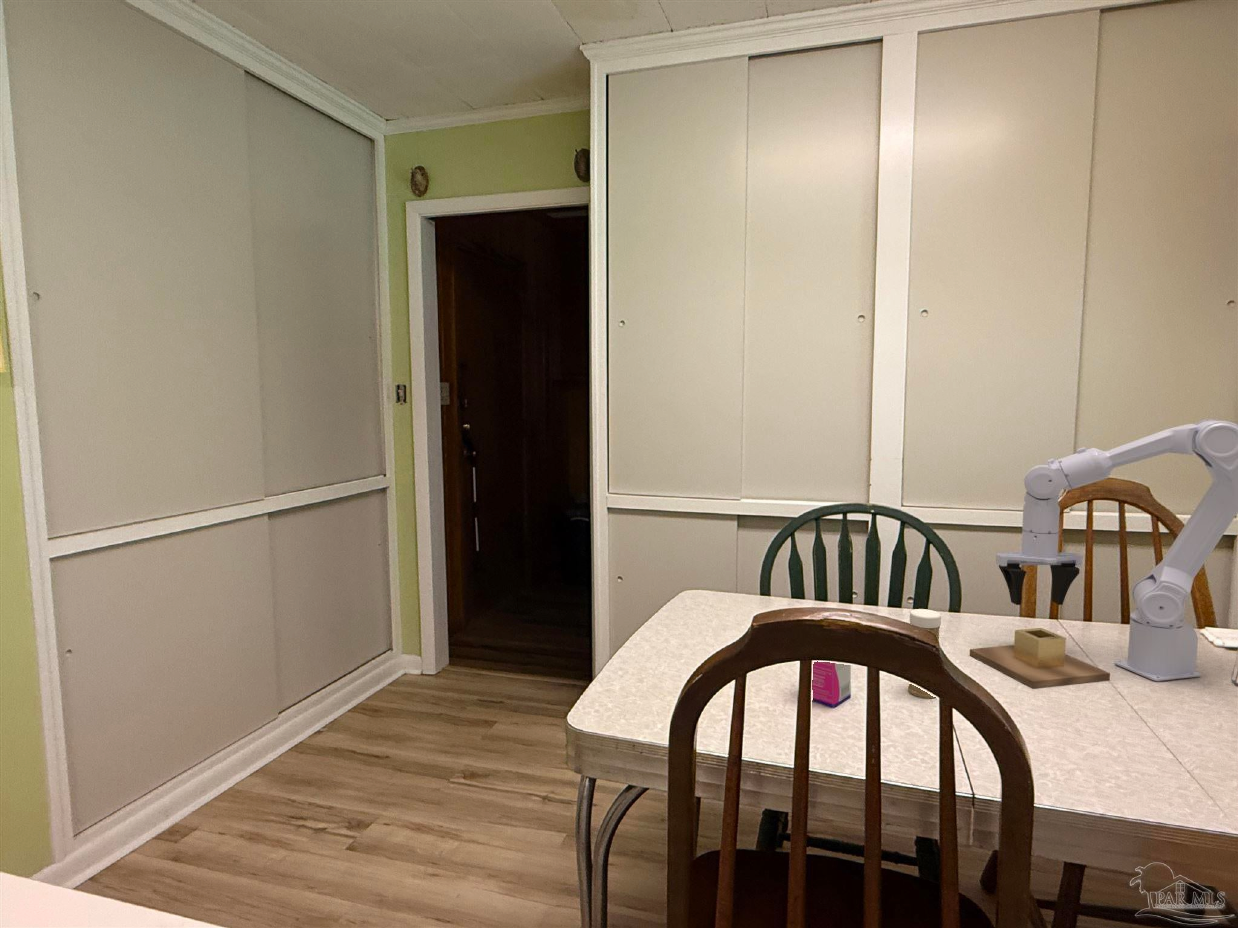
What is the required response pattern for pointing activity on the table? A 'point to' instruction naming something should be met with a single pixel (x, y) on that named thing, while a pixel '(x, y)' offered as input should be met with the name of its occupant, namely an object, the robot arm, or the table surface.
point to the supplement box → (831, 683)
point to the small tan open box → (1039, 648)
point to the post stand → (1042, 677)
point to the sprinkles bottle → (929, 622)
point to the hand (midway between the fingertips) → (1036, 603)
